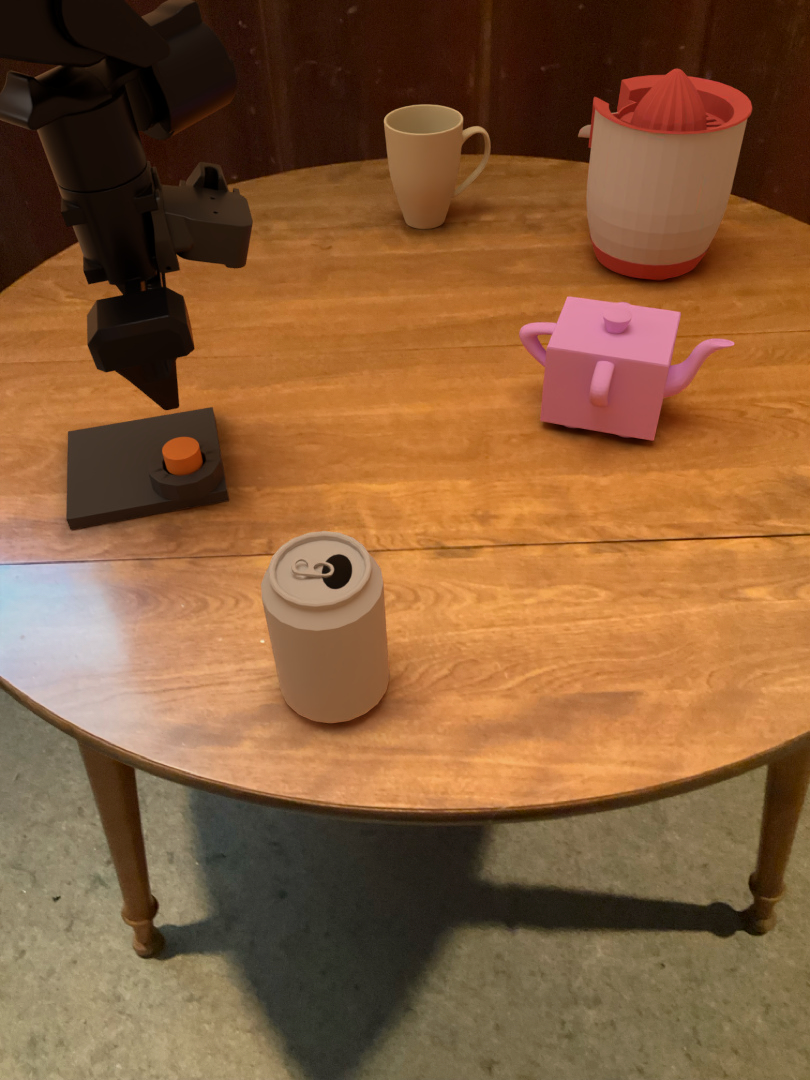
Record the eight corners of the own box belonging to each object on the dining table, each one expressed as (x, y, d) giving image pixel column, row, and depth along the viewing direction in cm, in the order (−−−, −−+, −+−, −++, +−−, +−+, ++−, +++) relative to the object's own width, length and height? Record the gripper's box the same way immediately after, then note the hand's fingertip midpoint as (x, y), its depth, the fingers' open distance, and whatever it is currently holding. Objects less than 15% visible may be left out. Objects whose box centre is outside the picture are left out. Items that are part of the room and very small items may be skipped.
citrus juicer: (606, 209, 114) (629, 31, 99) (740, 248, 106) (786, 60, 92) (537, 260, 105) (551, 73, 91) (678, 307, 97) (717, 109, 83)
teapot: (719, 388, 87) (743, 291, 80) (704, 482, 77) (730, 381, 70) (530, 358, 91) (538, 264, 84) (495, 444, 82) (500, 345, 75)
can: (388, 730, 61) (380, 611, 52) (275, 731, 61) (248, 611, 53) (391, 641, 66) (384, 520, 58) (287, 642, 66) (264, 521, 58)
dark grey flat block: (70, 533, 75) (59, 506, 73) (71, 441, 84) (61, 415, 82) (229, 504, 77) (223, 477, 75) (214, 417, 86) (209, 390, 84)
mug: (437, 246, 108) (437, 142, 100) (373, 223, 113) (367, 122, 104) (491, 212, 114) (495, 111, 106) (428, 192, 119) (427, 93, 110)
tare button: (167, 479, 76) (163, 462, 74) (165, 456, 78) (161, 440, 77) (204, 472, 76) (200, 455, 75) (201, 450, 78) (197, 433, 77)
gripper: (247, 217, 53) (292, 425, 64) (214, 89, 65) (257, 283, 76) (49, 255, 51) (131, 460, 63) (54, 117, 64) (122, 310, 75)
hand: (167, 370), depth 69 cm, fingers open, 9 cm apart
